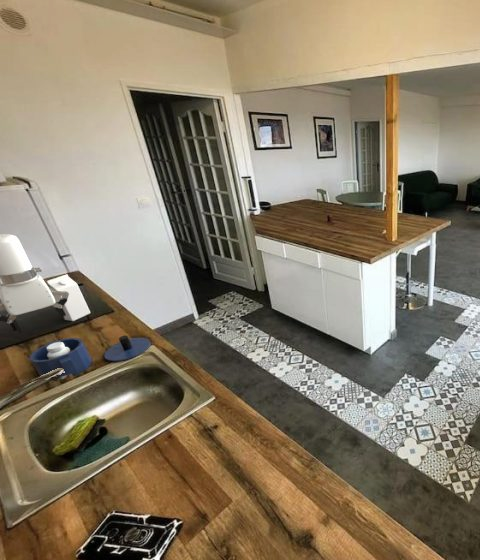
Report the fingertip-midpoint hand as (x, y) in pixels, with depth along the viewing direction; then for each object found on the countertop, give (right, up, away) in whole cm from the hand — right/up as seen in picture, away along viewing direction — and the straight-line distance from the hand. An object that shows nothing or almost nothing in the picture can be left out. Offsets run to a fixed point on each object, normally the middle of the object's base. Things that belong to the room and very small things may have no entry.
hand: (41, 324), depth 99 cm
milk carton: (-28, -2, +38) cm, 47 cm away
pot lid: (+13, -12, +17) cm, 25 cm away
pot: (0, -17, +8) cm, 18 cm away
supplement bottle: (0, -16, +8) cm, 18 cm away
